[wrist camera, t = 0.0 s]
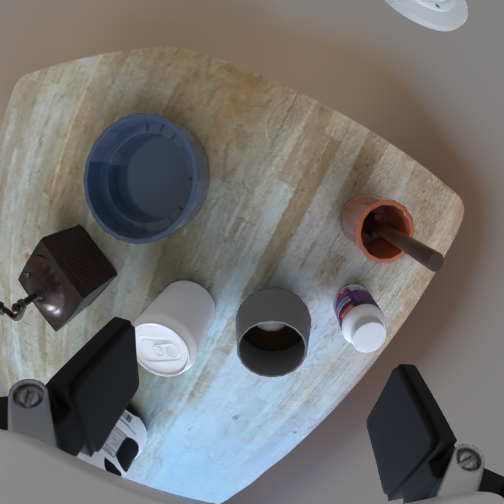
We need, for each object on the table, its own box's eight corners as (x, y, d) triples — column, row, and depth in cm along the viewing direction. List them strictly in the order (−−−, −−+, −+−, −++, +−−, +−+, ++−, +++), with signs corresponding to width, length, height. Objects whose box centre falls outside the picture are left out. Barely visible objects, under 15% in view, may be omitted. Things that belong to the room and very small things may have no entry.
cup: (229, 290, 39) (214, 326, 29) (295, 268, 37) (301, 300, 28) (254, 346, 41) (247, 390, 31) (315, 328, 39) (324, 370, 30)
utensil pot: (368, 183, 34) (391, 186, 26) (397, 224, 35) (424, 237, 27) (329, 215, 35) (343, 226, 28) (360, 255, 36) (379, 275, 28)
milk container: (92, 424, 52) (59, 474, 35) (74, 373, 48) (27, 426, 30) (156, 447, 51) (130, 506, 34) (146, 397, 46) (107, 467, 29)
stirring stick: (362, 209, 34) (432, 241, 17) (372, 210, 34) (447, 243, 17) (359, 231, 35) (424, 280, 17) (369, 232, 35) (439, 281, 17)
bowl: (161, 99, 33) (141, 88, 27) (235, 179, 35) (226, 180, 29) (91, 178, 37) (66, 180, 31) (154, 255, 39) (135, 268, 33)
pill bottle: (336, 281, 37) (353, 314, 28) (373, 285, 37) (398, 317, 28) (329, 317, 39) (341, 357, 29) (364, 319, 38) (384, 358, 29)
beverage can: (157, 280, 40) (116, 318, 28) (211, 276, 39) (184, 318, 27) (169, 330, 42) (137, 377, 30) (220, 329, 41) (200, 381, 29)
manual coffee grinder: (78, 219, 38) (-10, 248, 21) (119, 274, 40) (42, 330, 23) (40, 274, 42) (-30, 313, 25) (75, 322, 44) (13, 375, 26)
